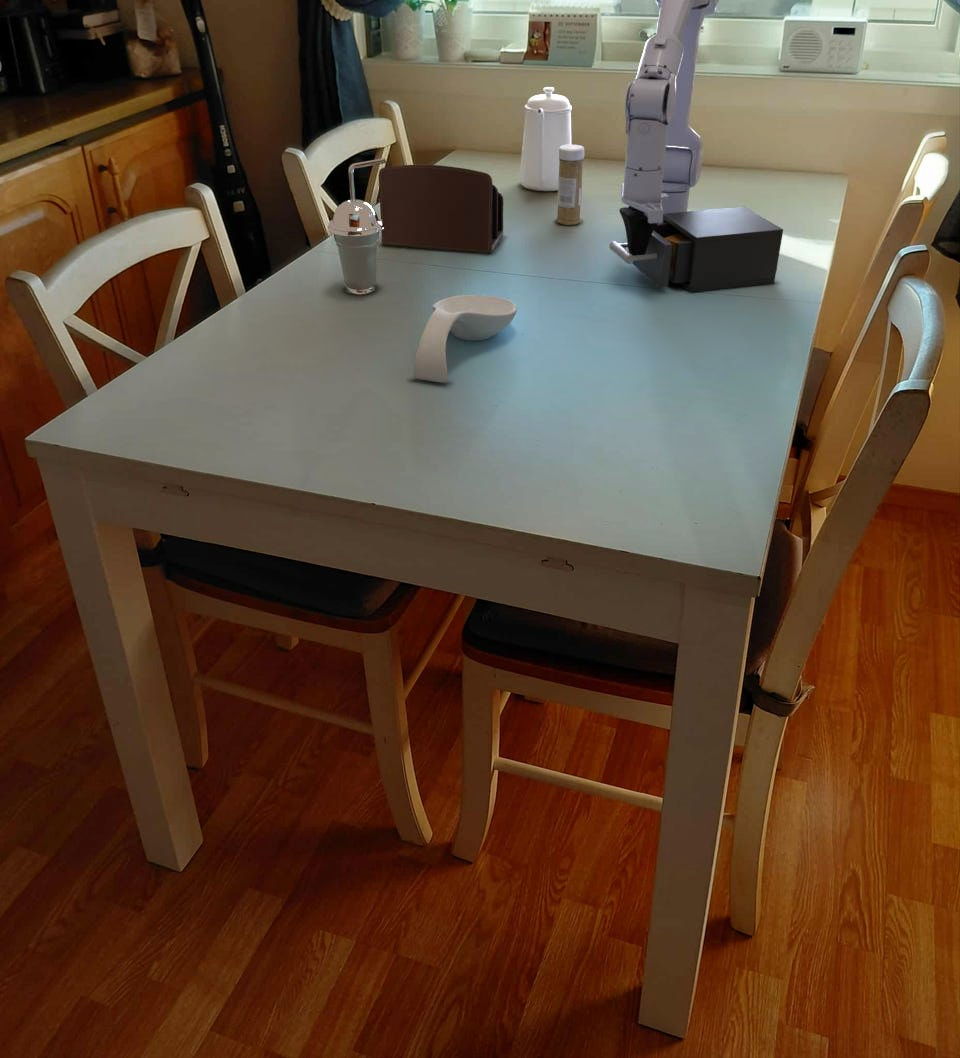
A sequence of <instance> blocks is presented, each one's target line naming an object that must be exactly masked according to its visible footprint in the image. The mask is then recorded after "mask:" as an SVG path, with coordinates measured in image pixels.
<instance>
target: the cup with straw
mask: <svg viewBox="0 0 960 1058" xmlns="http://www.w3.org/2000/svg"><path fill="white" fill-rule="evenodd" d="M382 164H387V161H386V158H385V157H383V158H378V159H377V158H376V159H371V160H367V161H366V160H365V161H360V162H359V161H358V162H355V163H352V164H350V165H349V167H348V181H349V193H350V199H348V200H344V201H343V202H342V203H340V204H339V205H338V206H337V208H335V210H334V213H333V216H332V219H331V220H329V222H328V227H327V230H328V232H329V233H331V234H333V239H334V241H335V245H336V247H337V252H338V256H339V261H340V265H341V270H342V275H343V280H344V284H345V286H346V289H345V290H346V292H347V293H348V294H352V295H357V296H358V295H359V296H360V295H368V294H371V293H373V292H375V290H376V282H377V261H378V260H377V259H378V245H379V239H380V232H381V231H382V230H383V228H384V225H383V221H382V220H381V217H379V216H378V213H377V211H376V210H375V208H374V207H373V206H372V205H371V204H370V203H368V202H366V201H365V200H362V199H358V198H356V189H355V177H354V175H355V174H354V170H355V169H359V168H365V167H371V166H377V165H382Z"/></svg>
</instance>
